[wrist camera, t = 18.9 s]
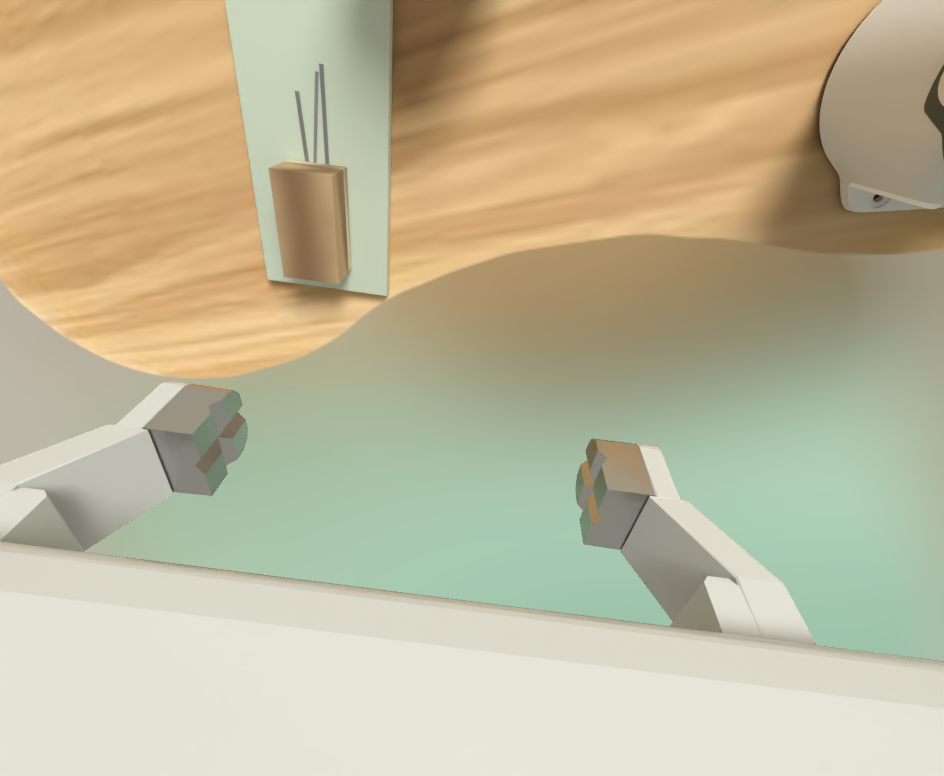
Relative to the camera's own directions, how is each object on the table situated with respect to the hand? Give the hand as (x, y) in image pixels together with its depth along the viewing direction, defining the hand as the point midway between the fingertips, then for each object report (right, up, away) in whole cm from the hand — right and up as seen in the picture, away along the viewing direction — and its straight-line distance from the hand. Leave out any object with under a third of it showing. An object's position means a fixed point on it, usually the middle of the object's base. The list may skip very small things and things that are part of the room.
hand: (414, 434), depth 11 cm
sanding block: (-12, +17, +31) cm, 37 cm away
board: (-12, +21, +29) cm, 38 cm away
